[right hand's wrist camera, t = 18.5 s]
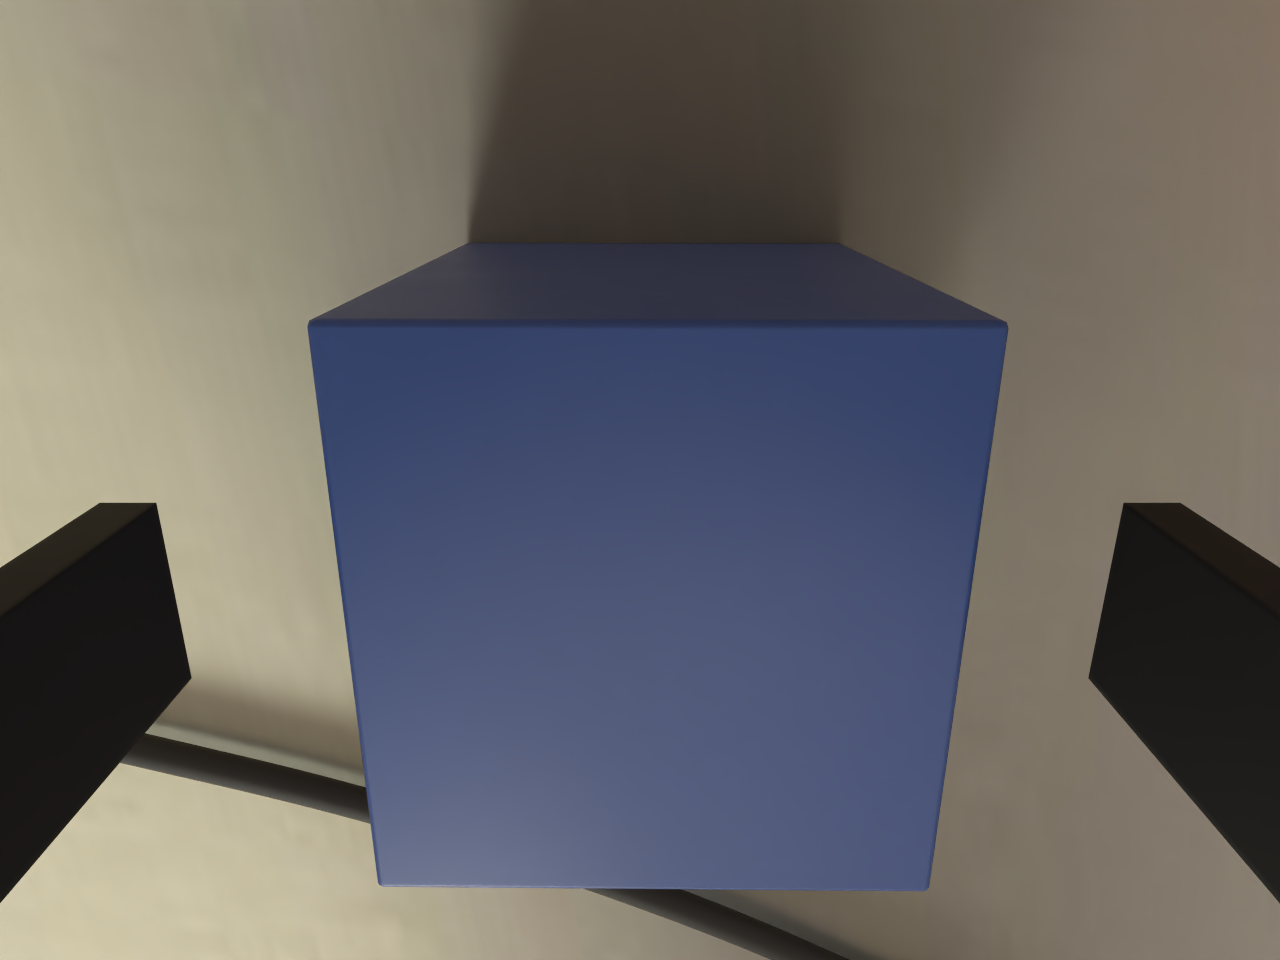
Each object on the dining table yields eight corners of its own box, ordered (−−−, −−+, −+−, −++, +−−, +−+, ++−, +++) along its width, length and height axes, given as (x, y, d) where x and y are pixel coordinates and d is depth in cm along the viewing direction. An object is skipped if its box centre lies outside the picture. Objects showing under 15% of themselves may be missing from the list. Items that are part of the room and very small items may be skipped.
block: (464, 242, 19) (303, 318, 10) (843, 243, 18) (1013, 320, 10) (487, 591, 21) (376, 889, 13) (816, 592, 21) (930, 894, 13)
